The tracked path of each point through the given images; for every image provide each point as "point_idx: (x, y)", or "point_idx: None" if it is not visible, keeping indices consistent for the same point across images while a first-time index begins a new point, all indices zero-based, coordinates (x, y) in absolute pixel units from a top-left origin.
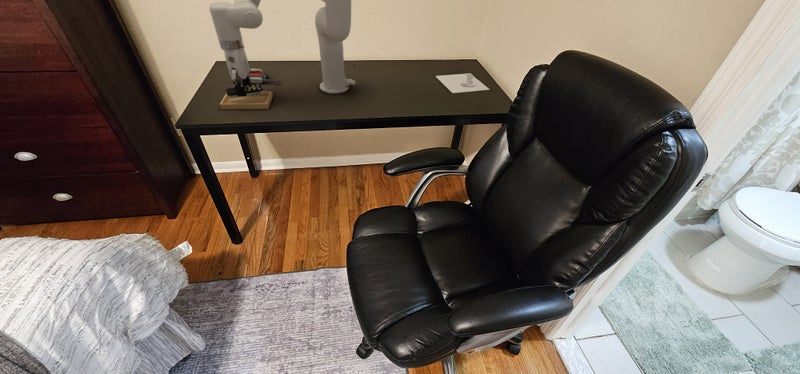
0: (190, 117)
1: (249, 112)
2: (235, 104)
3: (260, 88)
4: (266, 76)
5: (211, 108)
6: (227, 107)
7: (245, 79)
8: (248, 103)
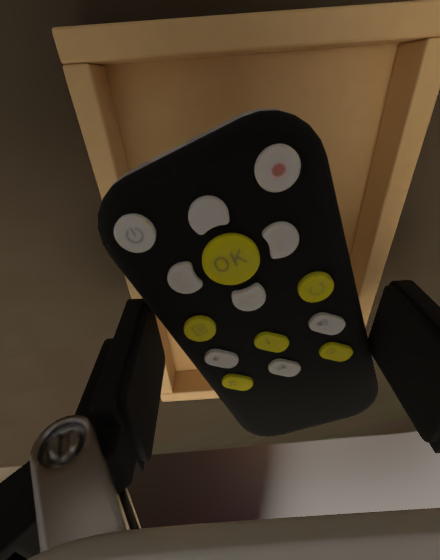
0: (386, 426)
1: (430, 200)
2: (367, 318)
3: (280, 146)
4: None
5: None
6: None
7: (142, 404)
8: (384, 235)
